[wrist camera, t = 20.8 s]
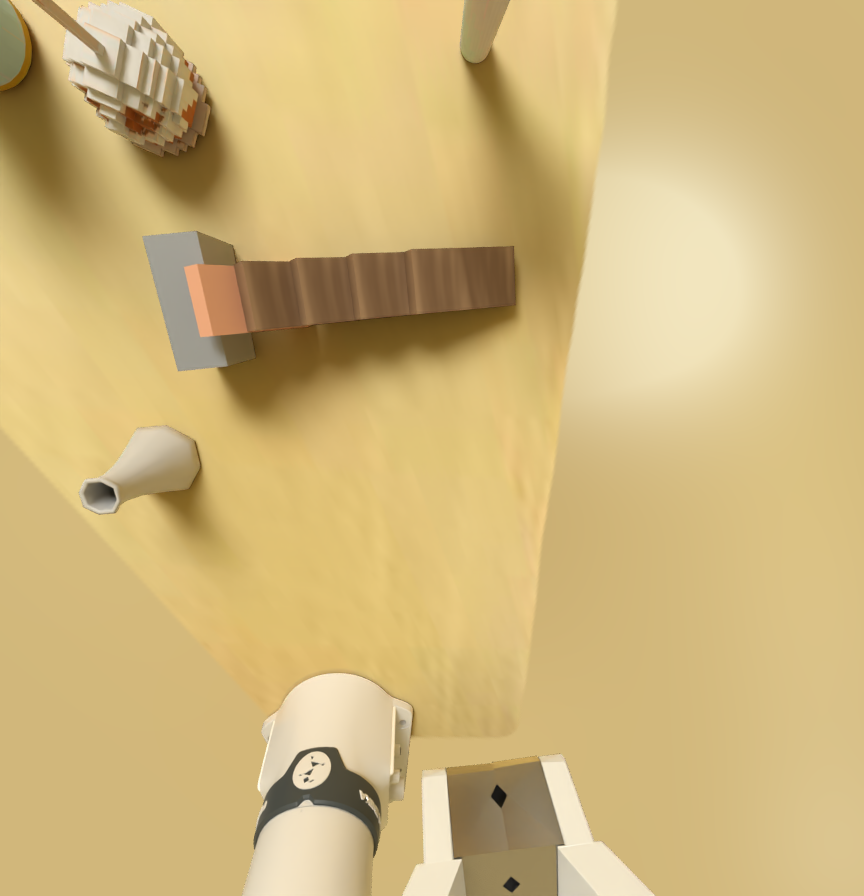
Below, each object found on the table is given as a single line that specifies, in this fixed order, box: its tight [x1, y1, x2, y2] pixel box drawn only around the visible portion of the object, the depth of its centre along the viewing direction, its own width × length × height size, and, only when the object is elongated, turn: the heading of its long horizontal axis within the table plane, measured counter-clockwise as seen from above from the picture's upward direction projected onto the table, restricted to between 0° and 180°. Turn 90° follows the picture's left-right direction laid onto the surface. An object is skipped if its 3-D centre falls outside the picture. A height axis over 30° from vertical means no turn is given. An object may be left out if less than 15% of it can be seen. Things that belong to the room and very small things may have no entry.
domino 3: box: [290, 257, 405, 326], centre depth 38 cm, size 2×5×10 cm
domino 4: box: [346, 252, 410, 320], centre depth 38 cm, size 2×5×10 cm
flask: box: [79, 425, 201, 515], centre depth 40 cm, size 7×7×10 cm
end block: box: [142, 231, 256, 371], centre depth 38 cm, size 10×4×7 cm, turn 6°
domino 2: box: [234, 261, 357, 331], centre depth 37 cm, size 2×5×10 cm
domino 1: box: [184, 264, 310, 337], centre depth 37 cm, size 2×5×10 cm
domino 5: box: [404, 246, 516, 315], centre depth 39 cm, size 2×5×10 cm
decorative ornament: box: [32, 0, 211, 157], centre depth 29 cm, size 8×8×15 cm
